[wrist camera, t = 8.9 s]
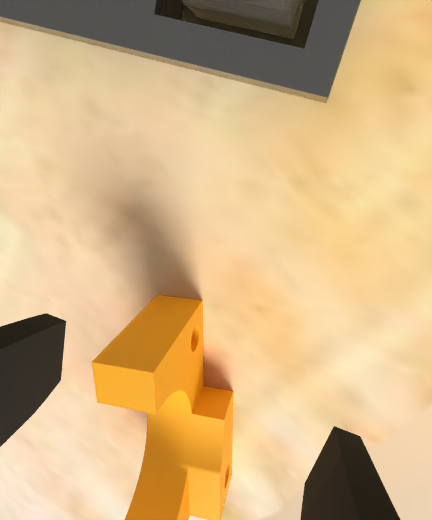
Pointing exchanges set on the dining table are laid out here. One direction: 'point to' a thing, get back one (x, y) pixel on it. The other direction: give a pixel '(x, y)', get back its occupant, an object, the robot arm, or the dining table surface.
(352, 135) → the dining table surface
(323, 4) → the dark grey flat frame
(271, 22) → the block
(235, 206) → the dining table surface
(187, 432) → the pipe clamp
